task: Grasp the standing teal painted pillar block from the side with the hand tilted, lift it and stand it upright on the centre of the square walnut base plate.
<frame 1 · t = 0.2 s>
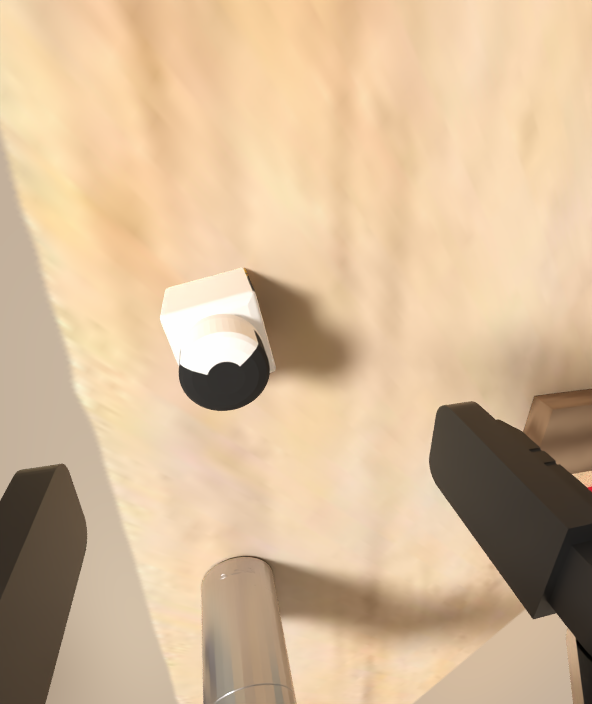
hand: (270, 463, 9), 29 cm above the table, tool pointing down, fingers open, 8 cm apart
walnut base plate: (559, 427, 55), on the table
medicine bottle: (216, 312, 38), on the table
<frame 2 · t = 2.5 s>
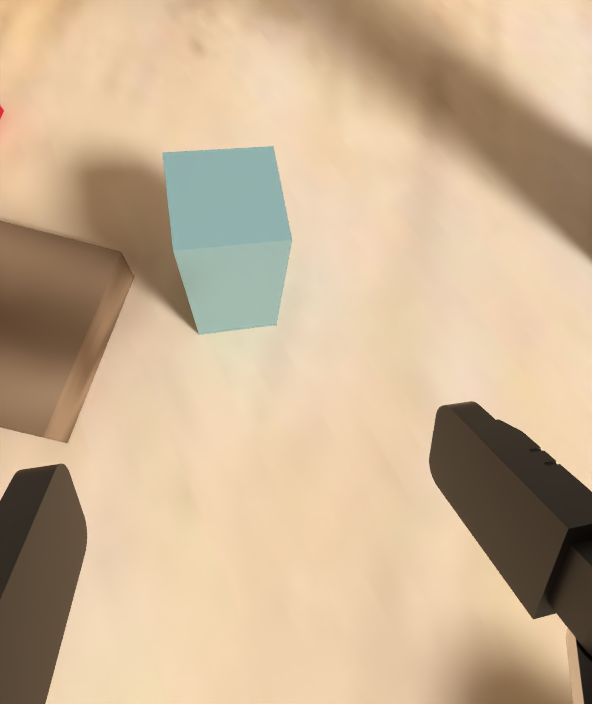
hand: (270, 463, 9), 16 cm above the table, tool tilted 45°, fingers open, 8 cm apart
teal pillar block: (233, 294, 28), on the table
walnut base plate: (13, 331, 25), on the table
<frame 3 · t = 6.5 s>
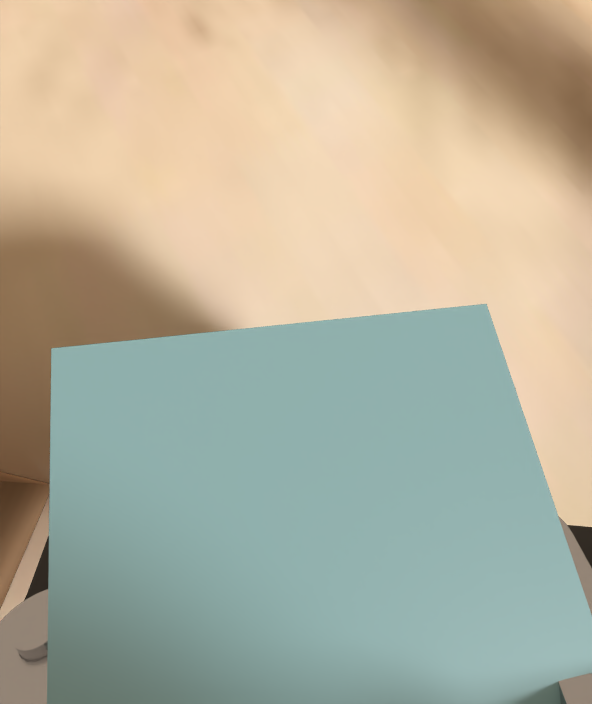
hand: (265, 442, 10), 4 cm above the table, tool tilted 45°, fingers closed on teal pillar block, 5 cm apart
teal pillar block: (262, 518, 13), on the table, touching gripper
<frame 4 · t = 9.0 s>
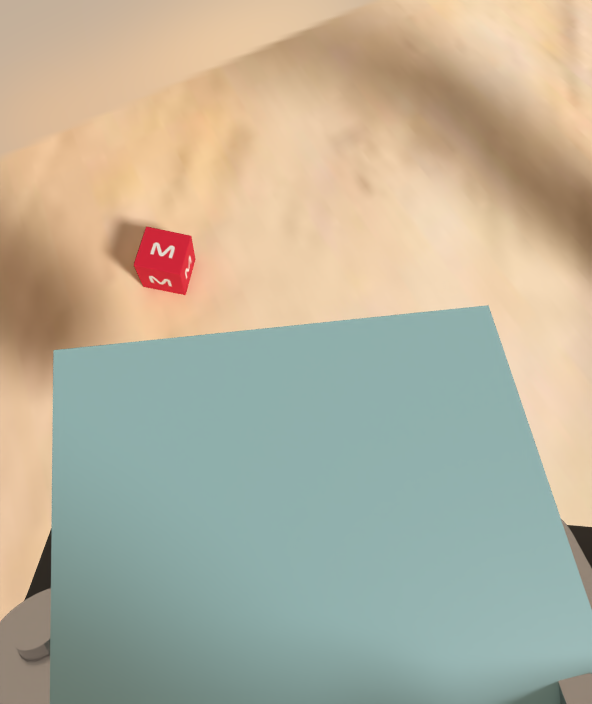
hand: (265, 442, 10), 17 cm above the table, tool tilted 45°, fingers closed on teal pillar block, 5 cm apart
dice: (170, 274, 30), on the table
teal pillar block: (263, 518, 13), point 13 cm above the table, touching gripper
when the fingers open (9 cm above the table, at t = 11.6 s): teal pillar block drops 1 cm, resting on walnut base plate.
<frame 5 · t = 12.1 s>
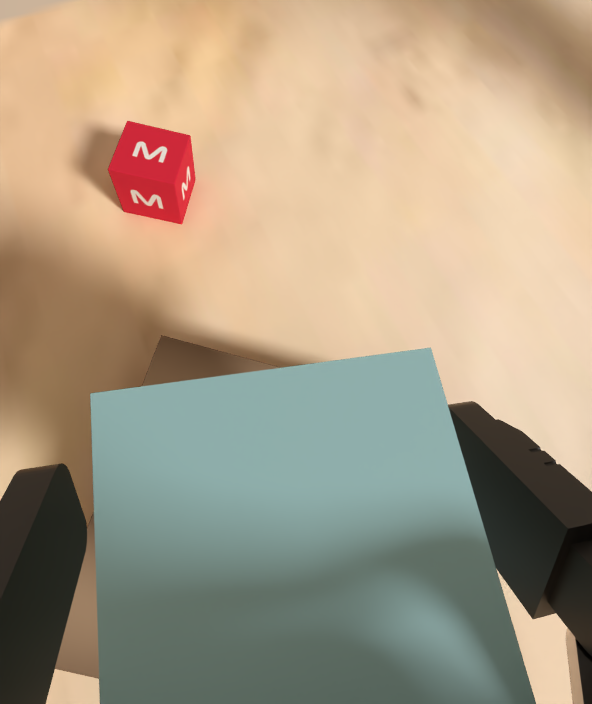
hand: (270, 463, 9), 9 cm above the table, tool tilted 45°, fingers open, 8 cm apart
dice: (161, 198, 22), on the table
teal pillar block: (259, 518, 15), point 3 cm above the table, touching walnut base plate
walnut base plate: (256, 513, 17), on the table
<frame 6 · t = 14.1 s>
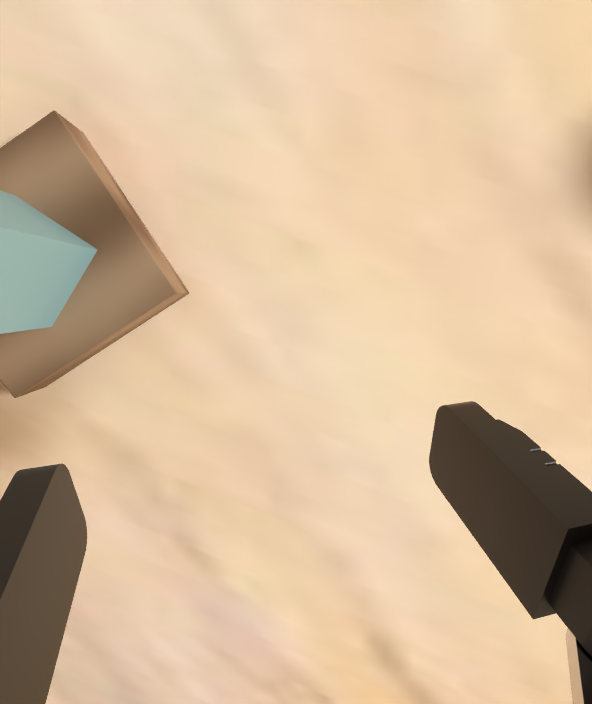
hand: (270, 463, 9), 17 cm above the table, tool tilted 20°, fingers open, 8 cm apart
teal pillar block: (33, 262, 22), point 3 cm above the table, touching walnut base plate
walnut base plate: (63, 264, 25), on the table
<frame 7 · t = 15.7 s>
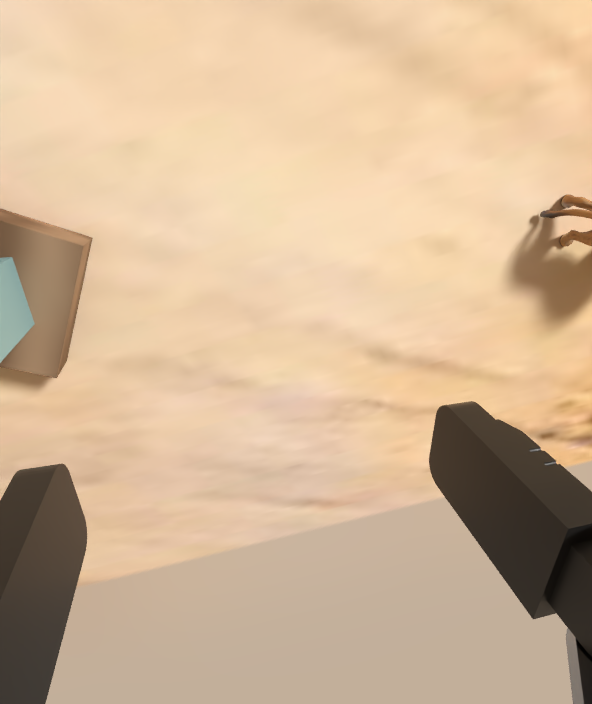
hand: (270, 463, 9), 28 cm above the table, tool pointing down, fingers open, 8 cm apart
walnut base plate: (0, 282, 32), on the table
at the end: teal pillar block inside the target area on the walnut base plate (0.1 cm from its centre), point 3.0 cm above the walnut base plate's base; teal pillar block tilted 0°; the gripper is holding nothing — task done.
